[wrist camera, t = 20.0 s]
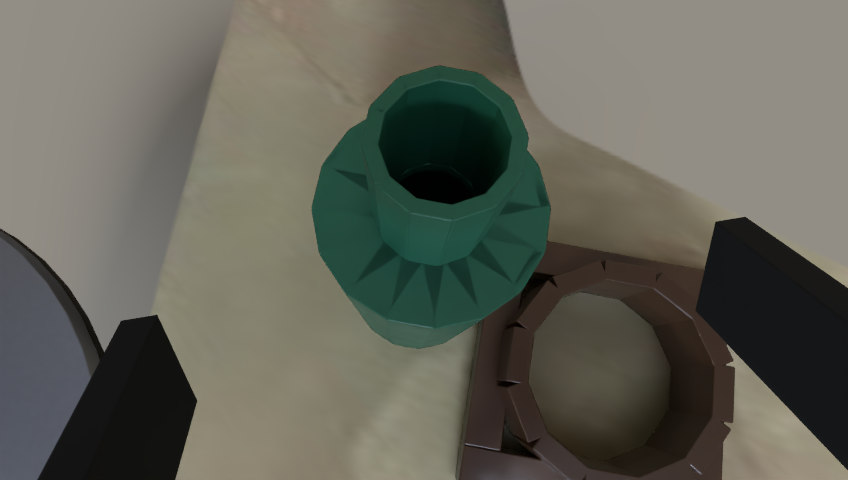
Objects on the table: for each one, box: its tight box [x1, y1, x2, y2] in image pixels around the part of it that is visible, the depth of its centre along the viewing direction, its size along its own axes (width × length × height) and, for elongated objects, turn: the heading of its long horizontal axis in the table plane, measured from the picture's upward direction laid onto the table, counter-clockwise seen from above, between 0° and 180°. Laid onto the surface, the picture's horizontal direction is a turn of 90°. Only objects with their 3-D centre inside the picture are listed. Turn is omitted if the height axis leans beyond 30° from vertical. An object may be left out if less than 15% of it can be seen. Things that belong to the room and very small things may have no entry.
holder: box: [455, 241, 735, 480], centre depth 26 cm, size 13×13×4 cm
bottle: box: [312, 66, 551, 349], centre depth 19 cm, size 7×7×18 cm
